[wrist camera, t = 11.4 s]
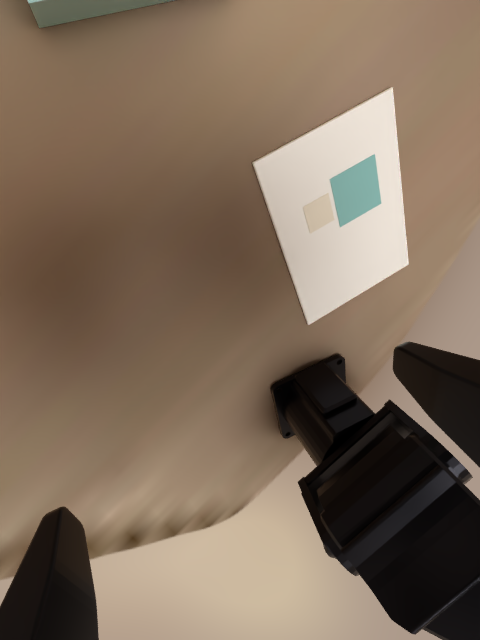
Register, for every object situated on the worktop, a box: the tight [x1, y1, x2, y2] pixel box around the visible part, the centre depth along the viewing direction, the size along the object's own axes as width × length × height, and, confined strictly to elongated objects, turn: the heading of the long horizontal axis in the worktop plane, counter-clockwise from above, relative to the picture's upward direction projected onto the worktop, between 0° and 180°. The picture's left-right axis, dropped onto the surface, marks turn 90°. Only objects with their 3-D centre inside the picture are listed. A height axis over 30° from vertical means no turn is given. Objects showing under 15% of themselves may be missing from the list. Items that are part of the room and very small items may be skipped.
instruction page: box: [252, 87, 409, 325], centre depth 23 cm, size 12×9×1 cm
